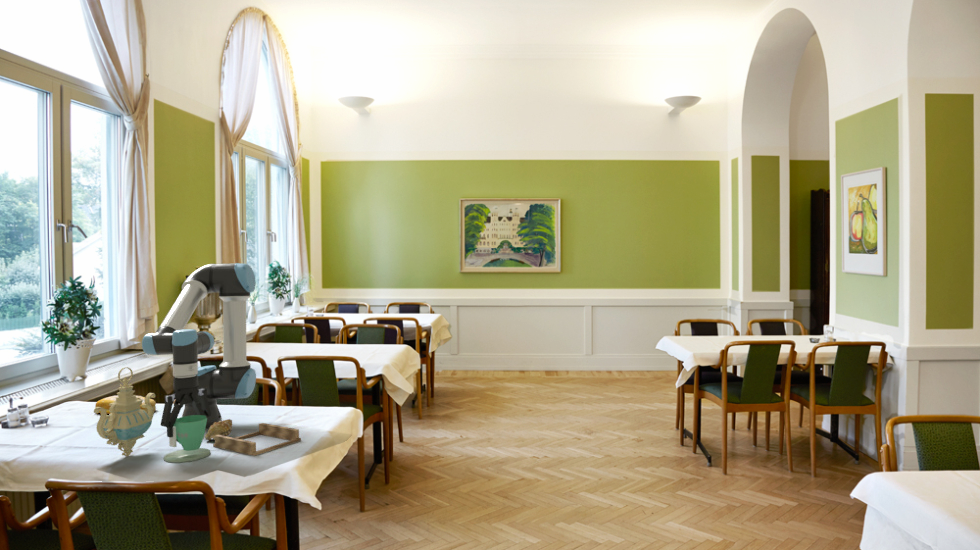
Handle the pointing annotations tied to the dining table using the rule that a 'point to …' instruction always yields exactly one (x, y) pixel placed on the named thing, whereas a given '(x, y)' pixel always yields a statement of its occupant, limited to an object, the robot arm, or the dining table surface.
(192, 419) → the mug
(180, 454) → the coaster
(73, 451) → the dining table surface
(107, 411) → the bread
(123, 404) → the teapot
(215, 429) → the seashell
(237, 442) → the oak frame
